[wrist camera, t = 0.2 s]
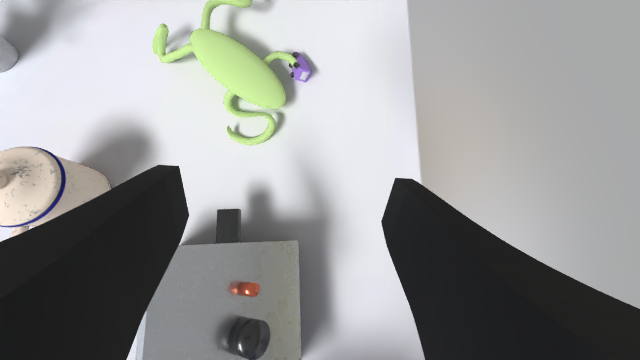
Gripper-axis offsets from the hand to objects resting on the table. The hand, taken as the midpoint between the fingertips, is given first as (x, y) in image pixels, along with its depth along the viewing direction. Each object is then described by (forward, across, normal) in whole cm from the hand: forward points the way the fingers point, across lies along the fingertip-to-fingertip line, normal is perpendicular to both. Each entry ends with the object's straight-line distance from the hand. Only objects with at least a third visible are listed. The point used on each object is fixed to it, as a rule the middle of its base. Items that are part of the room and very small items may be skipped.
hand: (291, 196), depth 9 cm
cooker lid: (+6, +4, +20) cm, 22 cm away
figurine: (+42, +10, +5) cm, 43 cm away
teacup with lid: (+24, +29, +22) cm, 44 cm away
